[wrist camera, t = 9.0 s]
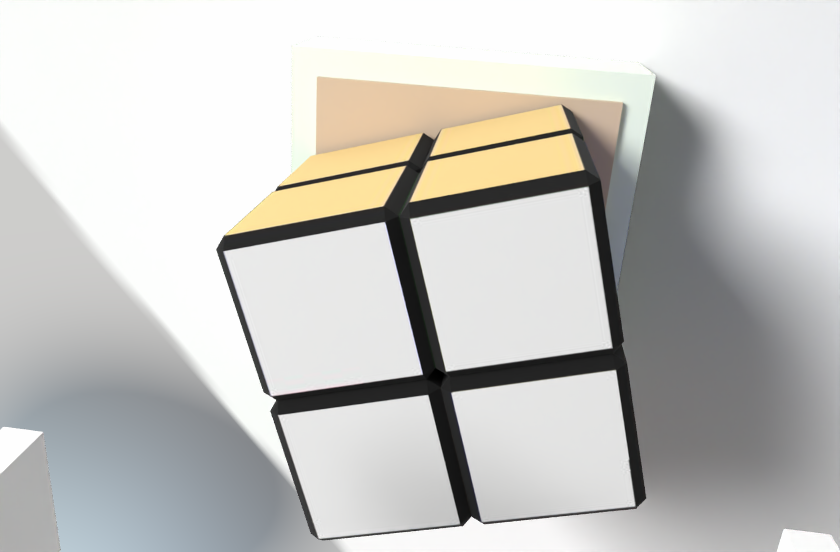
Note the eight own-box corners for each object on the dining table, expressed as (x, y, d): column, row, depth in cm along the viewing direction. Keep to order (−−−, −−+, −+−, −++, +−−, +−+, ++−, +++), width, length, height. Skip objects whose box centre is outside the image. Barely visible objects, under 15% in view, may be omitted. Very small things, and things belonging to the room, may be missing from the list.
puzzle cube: (609, 349, 30) (650, 515, 21) (369, 383, 32) (310, 549, 23) (570, 100, 27) (600, 168, 18) (304, 155, 29) (206, 242, 20)
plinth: (638, 62, 30) (657, 76, 26) (589, 351, 35) (598, 399, 31) (318, 36, 31) (289, 46, 27) (313, 321, 36) (289, 363, 32)
